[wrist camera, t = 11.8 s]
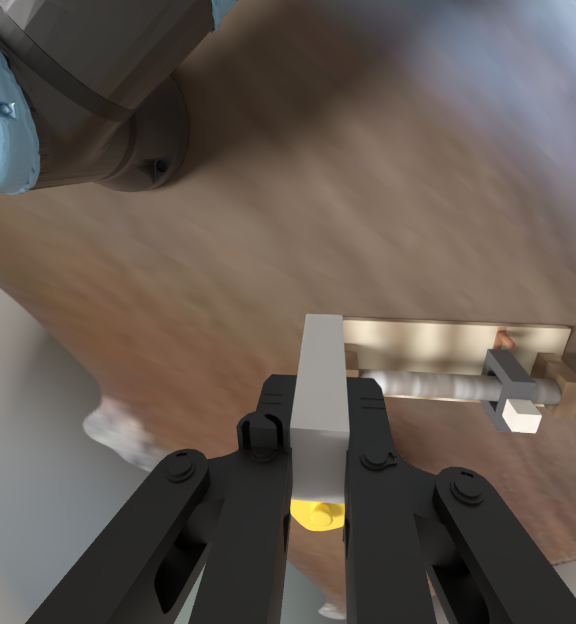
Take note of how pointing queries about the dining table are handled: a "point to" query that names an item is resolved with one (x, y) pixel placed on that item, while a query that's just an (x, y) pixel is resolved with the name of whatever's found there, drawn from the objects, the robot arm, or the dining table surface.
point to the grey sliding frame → (511, 394)
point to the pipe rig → (458, 359)
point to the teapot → (318, 514)
